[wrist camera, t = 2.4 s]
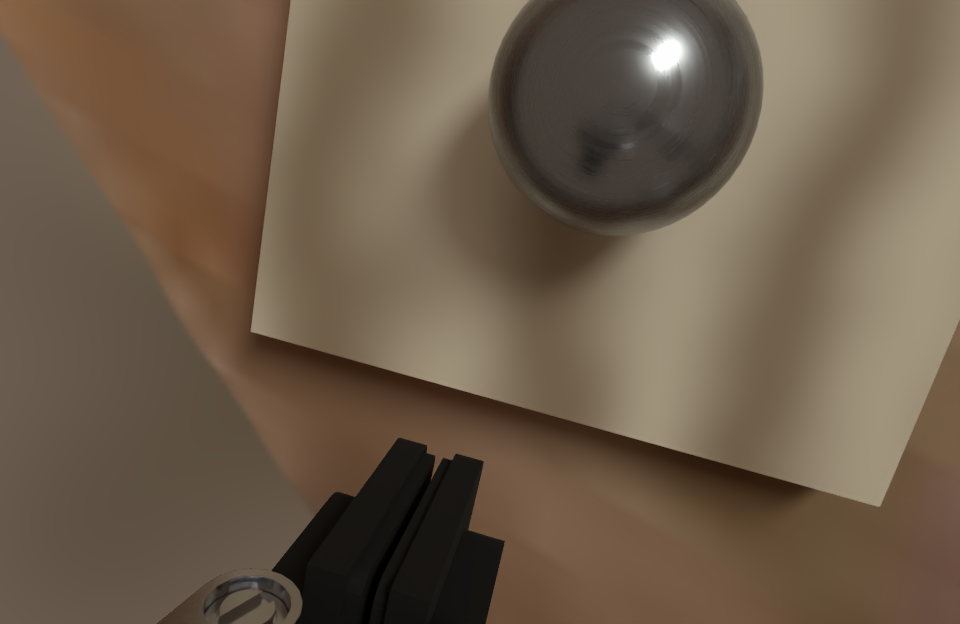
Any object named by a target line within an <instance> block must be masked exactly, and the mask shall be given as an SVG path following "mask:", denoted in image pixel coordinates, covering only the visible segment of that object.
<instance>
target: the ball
mask: <svg viewBox="0 0 960 624" xmlns="http://www.w3.org/2000/svg"><path fill="white" fill-rule="evenodd" d="M763 90H764V85H763V66H762V60H761V53H760V49H759V46H758V43H757V39H756V36H755V33H754V31H753V29H752V26H751V24H750V22H749V20H748V18H747V16H746V14H745V13H744V11H743V10H742V8H741V7H740V5H739V4H738V2H737V1H736V0H529V1H528V2H527V3H526V4H525V5H524V6H523V7H522V9H521V10H520V12H519V13H518V14H517V16H516V17H515V19H514V20H513V21H512V23H511V25H510V26H509V28H508V30H507V32H506V34H505V36H504V37H503V39H502V42H501V44H500V47H499V49H498V52H497V54H496V57H495V61H494V64H493V68H492V72H491V77H490V84H489V92H488V116H489V125H490V132H491V136H492V140H493V144H494V147H495V150H496V153H497V155H498V158H499V161H500V163H501V165H502V167H503V169H504V170H505V172H506V174H507V176H508V178H509V179H510V180H511V182H512V183H513V185H514V186H515V187H516V189H517V190H518V191H519V192H520V193H521V194H522V196H523V197H524V198H525V199H526V200H527V201H528V202H529V203H530V204H532V205H533V206H534V207H535V208H536V209H538V210H539V211H540V212H541V213H543V214H544V215H546V216H548V217H549V218H551V219H552V220H554V221H556V222H558V223H560V224H563V225H565V226H567V227H569V228H572V229H575V230H579V231H582V232H585V233H590V234H597V235H603V236H626V235H637V234H641V233H646V232H650V231H655V230H657V229H660V228H663V227H666V226H669V225H671V224H673V223H675V222H677V221H679V220H681V219H683V218H685V217H687V216H689V215H690V214H692V213H693V212H695V211H696V210H698V209H699V208H701V207H702V206H703V205H704V204H706V203H707V202H708V201H709V200H710V199H711V198H713V197H714V196H715V195H716V194H717V193H718V192H719V191H720V190H721V189H722V188H723V186H724V185H725V184H726V183H727V182H728V181H729V180H730V178H731V177H732V176H733V174H734V173H735V171H736V170H737V168H738V167H739V166H740V164H741V162H742V160H743V159H744V157H745V155H746V153H747V151H748V149H749V147H750V145H751V142H752V140H753V137H754V134H755V132H756V129H757V125H758V121H759V117H760V113H761V108H762V99H763Z"/></svg>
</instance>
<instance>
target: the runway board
mask: <svg viewBox="0 0 960 624" xmlns="http://www.w3.org/2000/svg"><path fill="white" fill-rule="evenodd" d="M528 1H529V0H291V3H290V12H289V20H288V28H287V36H286V45H285V53H284V61H283V69H282V78H281V86H280V94H279V102H278V111H277V119H276V127H275V135H274V144H273V152H272V160H271V168H270V177H269V185H268V193H267V201H266V210H265V218H264V226H263V234H262V243H261V251H260V259H259V267H258V276H257V284H256V292H255V300H254V309H253V317H252V325H251V332H254V333H257V334H261V335H265V336H268V337H272V338H275V339H279V340H282V341H286V342H290V343H293V344H297V345H300V346H304V347H308V348H311V349H315V350H318V351H322V352H326V353H329V354H333V355H336V356H340V357H343V358H347V359H351V360H354V361H358V362H361V363H365V364H369V365H372V366H376V367H379V368H383V369H386V370H390V371H394V372H397V373H401V374H404V375H408V376H412V377H415V378H419V379H422V380H426V381H430V382H433V383H437V384H440V385H444V386H447V387H451V388H455V389H458V390H462V391H465V392H469V393H473V394H476V395H480V396H483V397H487V398H490V399H494V400H498V401H501V402H505V403H508V404H512V405H516V406H519V407H523V408H526V409H530V410H533V411H537V412H541V413H544V414H548V415H551V416H555V417H559V418H562V419H566V420H569V421H573V422H577V423H580V424H584V425H587V426H591V427H594V428H598V429H602V430H605V431H609V432H612V433H616V434H620V435H623V436H627V437H630V438H634V439H637V440H641V441H645V442H648V443H652V444H655V445H659V446H663V447H666V448H670V449H673V450H677V451H681V452H684V453H688V454H691V455H695V456H698V457H702V458H706V459H709V460H713V461H716V462H720V463H724V464H727V465H731V466H734V467H738V468H741V469H745V470H749V471H752V472H756V473H759V474H763V475H767V476H770V477H774V478H777V479H781V480H785V481H788V482H792V483H795V484H799V485H802V486H806V487H810V488H813V489H817V490H820V491H824V492H828V493H831V494H835V495H838V496H842V497H845V498H849V499H853V500H856V501H860V502H863V503H867V504H871V505H874V506H878V507H880V506H881V503H882V501H883V499H884V496H885V494H886V491H887V489H888V487H889V484H890V482H891V480H892V477H893V475H894V473H895V470H896V468H897V466H898V463H899V461H900V459H901V456H902V454H903V451H904V449H905V447H906V444H907V442H908V440H909V437H910V435H911V433H912V430H913V428H914V426H915V423H916V421H917V418H918V416H919V414H920V411H921V409H922V407H923V404H924V402H925V400H926V397H927V395H928V393H929V390H930V388H931V386H932V383H933V381H934V378H935V376H936V374H937V371H938V369H939V367H940V364H941V362H942V360H943V357H944V355H945V353H946V350H947V348H948V346H949V343H950V341H951V338H952V336H953V334H954V331H955V329H956V327H957V324H958V322H959V320H960V0H736V1H737V2H738V4H739V5H740V7H741V8H742V10H743V11H744V13H745V14H746V16H747V18H748V20H749V22H750V24H751V26H752V29H753V31H754V33H755V36H756V39H757V43H758V46H759V49H760V53H761V60H762V66H763V85H764V90H763V99H762V108H761V113H760V117H759V121H758V125H757V129H756V132H755V134H754V137H753V140H752V142H751V145H750V147H749V149H748V151H747V153H746V155H745V157H744V159H743V160H742V162H741V164H740V166H739V167H738V168H737V170H736V171H735V173H734V174H733V176H732V177H731V178H730V180H729V181H728V182H727V183H726V184H725V185H724V186H723V188H722V189H721V190H720V191H719V192H718V193H717V194H716V195H715V196H714V197H713V198H711V199H710V200H709V201H708V202H707V203H706V204H704V205H703V206H702V207H701V208H699V209H698V210H696V211H695V212H693V213H692V214H690V215H689V216H687V217H685V218H683V219H681V220H679V221H677V222H675V223H673V224H671V225H669V226H666V227H663V228H660V229H657V230H655V231H650V232H646V233H641V234H637V235H626V236H603V235H597V234H590V233H585V232H582V231H579V230H575V229H572V228H569V227H567V226H565V225H563V224H560V223H558V222H556V221H554V220H552V219H551V218H549V217H548V216H546V215H544V214H543V213H541V212H540V211H539V210H538V209H536V208H535V207H534V206H533V205H532V204H530V203H529V202H528V201H527V200H526V199H525V198H524V197H523V196H522V194H521V193H520V192H519V191H518V190H517V189H516V187H515V186H514V185H513V183H512V182H511V180H510V179H509V178H508V176H507V174H506V172H505V170H504V169H503V167H502V165H501V163H500V161H499V158H498V155H497V153H496V150H495V147H494V144H493V140H492V136H491V132H490V125H489V116H488V92H489V84H490V77H491V72H492V68H493V64H494V61H495V57H496V54H497V52H498V49H499V47H500V44H501V42H502V39H503V37H504V36H505V34H506V32H507V30H508V28H509V26H510V25H511V23H512V21H513V20H514V19H515V17H516V16H517V14H518V13H519V12H520V10H521V9H522V7H523V6H524V5H525V4H526V3H527V2H528Z"/></svg>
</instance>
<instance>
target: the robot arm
mask: <svg viewBox="0 0 960 624" xmlns="http://www.w3.org/2000/svg"><path fill="white" fill-rule="evenodd" d="M426 452H427V445H424V444H420V443H416V442H413V441H409V440H406V439H402V438H398V439H397V440H396V442H395V443H394V445H393V446H392V447H391V449H390V450H389V452H388V453H387V454H386V456H385V457H384V458H383V460H382V461H381V463H380V464H379V465H378V467H377V468H376V470H375V471H374V472H373V474H372V475H371V476H370V478H369V479H368V481H367V482H366V483H365V485H364V486H363V487H362V489H361V490H360V492H359V493H358V494H357V496H356V497H353V496H350V495H347V494H343V493H340V492H335V493H334V494H333V495H332V496H331V497H330V498H329V499H328V501H327V502H326V503H325V504H324V506H323V507H322V508H321V509H320V511H319V512H318V513H317V514H316V516H315V517H314V518H313V519H312V521H311V522H310V523H309V525H308V526H307V527H306V528H305V529H304V531H303V532H302V533H301V534H300V536H299V537H298V538H297V539H296V541H295V542H294V543H293V544H292V546H291V547H290V548H289V549H288V551H287V552H286V553H285V554H284V556H283V557H282V558H281V559H280V561H279V562H278V563H277V564H276V566H275V567H274V568H273V570H272V571H269V570H265V569H252V568H251V569H242V570H235V571H231V572H229V573H226V574H223V575H220V576H218V577H216V578H215V579H213V580H211V581H210V582H208V583H206V584H205V585H204V586H203V587H201V588H200V589H199V590H198V591H196V592H195V593H194V594H193V595H191V596H190V597H189V598H188V599H187V600H185V601H184V602H183V603H182V604H181V605H179V606H178V607H177V608H176V609H174V610H173V611H172V612H171V613H169V614H168V615H167V616H166V617H164V618H163V619H162V620H161V621H159V622H158V623H157V624H485V623H486V619H487V615H488V611H489V606H490V602H491V598H492V594H493V589H494V585H495V581H496V577H497V572H498V568H499V564H500V560H501V555H502V551H503V547H504V542H505V541H502V540H499V539H496V538H492V537H489V536H486V535H482V534H479V533H475V532H472V531H469V530H468V528H469V524H470V519H471V515H472V511H473V507H474V502H475V498H476V494H477V489H478V485H479V481H480V477H481V472H482V468H483V462H484V461H481V460H477V459H473V458H470V457H466V456H463V455H459V454H455V456H454V458H453V460H449V459H445V458H443V459H442V461H441V463H440V465H439V467H438V468H437V470H436V472H435V474H434V476H433V478H432V480H431V477H432V472H433V467H434V462H435V455H431V454H427V453H426Z"/></svg>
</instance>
